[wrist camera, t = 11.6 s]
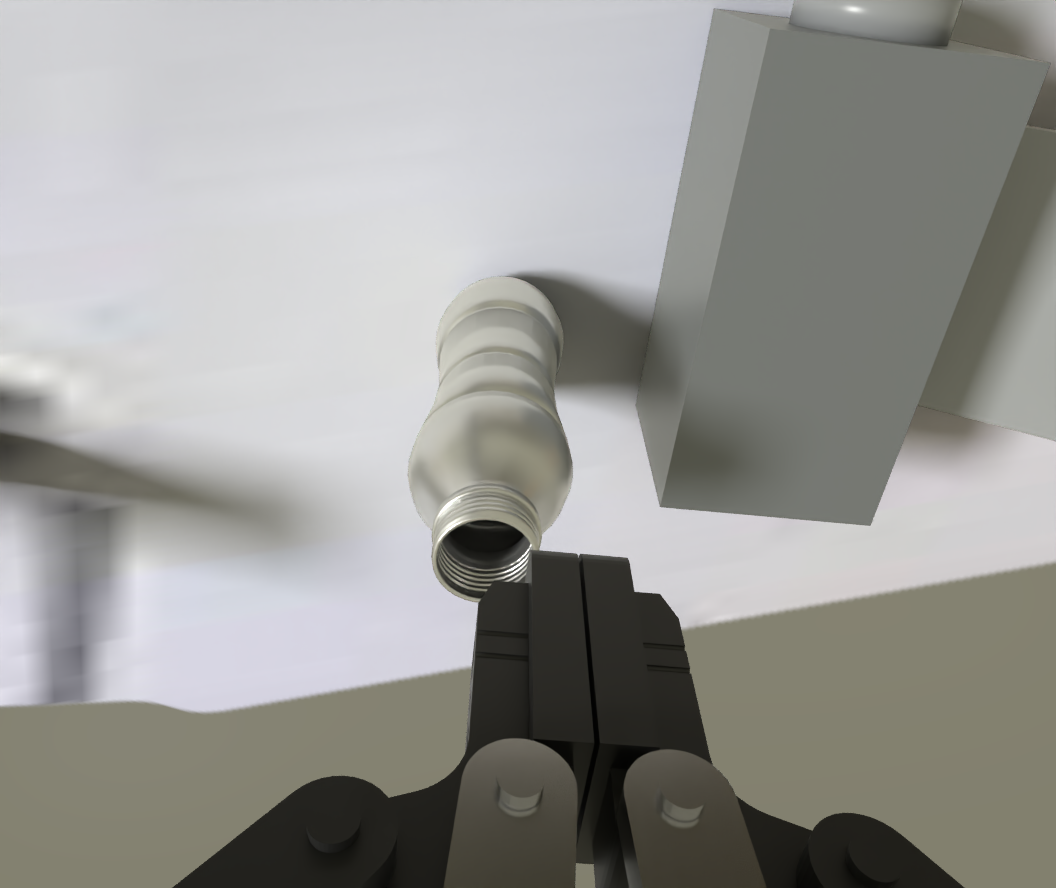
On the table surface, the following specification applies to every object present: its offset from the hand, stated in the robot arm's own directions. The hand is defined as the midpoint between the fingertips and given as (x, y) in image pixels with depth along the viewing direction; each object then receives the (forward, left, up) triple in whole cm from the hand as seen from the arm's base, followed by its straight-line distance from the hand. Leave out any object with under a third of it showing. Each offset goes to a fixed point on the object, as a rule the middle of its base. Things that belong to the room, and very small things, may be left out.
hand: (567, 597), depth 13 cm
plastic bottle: (+9, -1, -32) cm, 33 cm away
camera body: (+2, +12, -32) cm, 34 cm away
